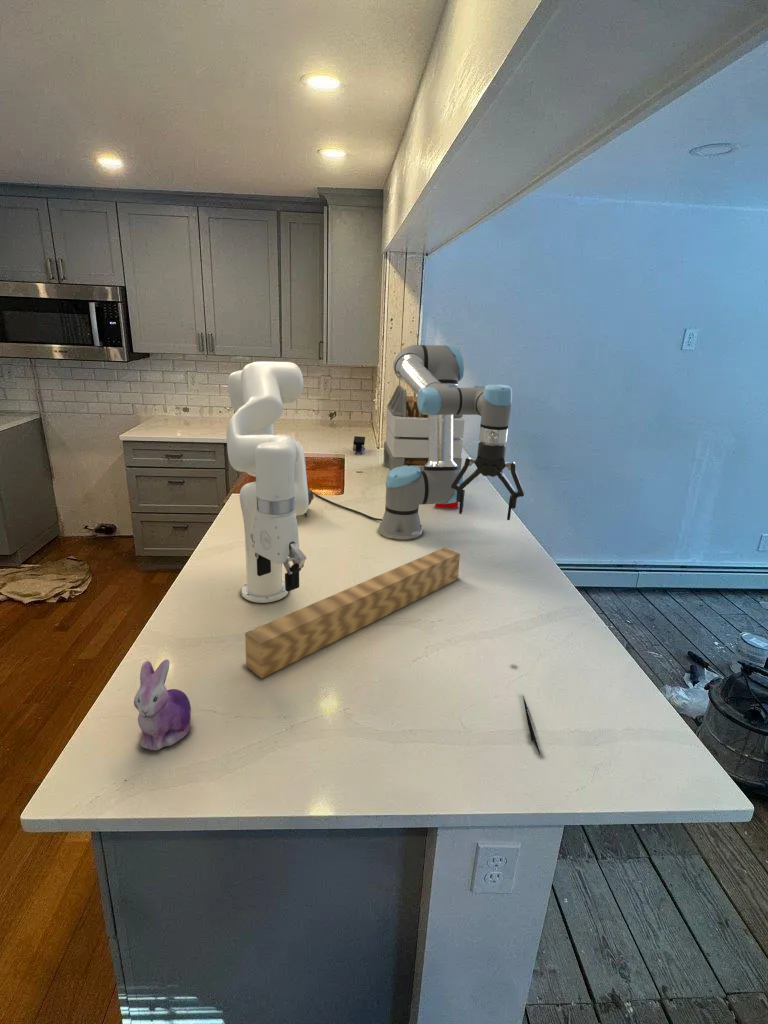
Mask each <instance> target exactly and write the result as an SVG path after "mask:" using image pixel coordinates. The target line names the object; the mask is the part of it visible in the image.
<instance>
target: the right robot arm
mask: <svg viewBox="0 0 768 1024" xmlns="http://www.w3.org/2000/svg"><path fill="white" fill-rule="evenodd" d="M393 372H394V374H395V375H396V378H398V380H399V381H401V382H402V383H404V384H407V385H408V386H409V388H410V390H412V391H413V392H414V394H415V395H416V397H417V406H418V410H419V412H420V413H421V414H428V432H429V460H428V462H427V463H426V464H425V465H424V466H423V470H422V469H421V467H420V466H407V465H404V466H401V467H397V468H394V469H392V470H390V469H389V470H388V472H387V475H386V480H385V504H384V505H385V507H384V508H385V509H384V513H383V515H382V518H377V517H373V516H370V515H368V514H366V513H363V512H361V511H358V510H356V509H353V508H349V507H346V506H344V505H341V504H339V503H336V502H333V501H332V500H329V499H327V498H325V497H322V496H321V495H320V494H318V493H315V492H314V491H312V492H313V496H316V497H317V498H319V499H322V500H323V501H325V502H327V503H330V504H332V505H334V506H337V507H338V508H341V509H345V510H348V511H351V512H353V513H356V514H359V515H362V516H364V517H366V518H368V519H371V520H374V521H379V526H378V533H379V534H380V535H381V536H382V537H385V538H387V539H389V540H395V541H410V540H415V539H418V538H420V537H421V536H422V535H423V525H422V524H421V518H420V515H419V507H420V505H435V504H447V503H454V502H456V501H457V502H458V503H459V506H458V514H459V515H462V514H463V512H464V503H465V488H466V487H468V486H469V484H470V483H471V482H472V481H474V480H475V479H476V478H477V477H478V476H479V475H482V476H483V477H488V476H489V477H491V478H494V477H497V478H498V479H499V481H501V483H502V484H503V486H504V487H505V488H506V490H507V491H508V493H509V494H510V495H509V501H508V509H507V517H506V521H511V514H512V513H511V512H512V509H516V507H517V500H518V498H521V497H522V498H523V497H524V496H525V490H524V488H523V484H522V482H521V480H520V479H521V478H519V477H520V476H519V474H518V472H517V468H516V467H517V466H516V465H517V464H516V461H514V460H513V461H511V462H507V461H506V451H507V445H506V443H507V442H508V436H509V435H508V434H509V425H510V417H511V411H512V404H513V388H512V386H510V385H504V384H497V383H494V384H493V383H492V384H486V385H485V386H482V385H480V386H479V385H474V386H470V387H458V386H459V384H458V383H459V382H460V381H462V379H463V377H464V375H465V374H464V373H465V360H464V356H463V354H462V352H461V350H460V349H459V348H458V347H457V346H454V345H447V344H445V345H444V344H443V345H441V344H412V345H408V346H406V347H404V348H403V349H401V350H400V351H399V352H398V353H397V355H396V356H395V358H394V360H393ZM453 415H462V416H463V415H465V416H468V415H469V416H470V415H471V416H472V415H473V416H474V415H475V416H480V424H479V425H480V426H479V436H478V441H479V442H478V446H477V452H476V453H477V454H476V458H473V457H471V456H466V458H465V460H464V464H463V466H462V467H461V471H460V470H457V464H456V463H455V462H454V461H453ZM473 464H474V466H475V467H476V469H475V470H474V471H473V472H472V473H470V475H469V476H467V477H466V479H464V475H465V473H466V472H467V470H468V468H469V467H471V466H473ZM505 468H507V470H508V471H510V474H511V476H512V479H513V482H514V485H515V487H516V488H514V486H513V485H512V483H511V482H510V480H509V479H508V478H507V476H506V475H505V473H504V471H503V470H504V469H505Z"/></svg>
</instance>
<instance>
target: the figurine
mask: <svg viewBox="0 0 768 1024" xmlns="http://www.w3.org/2000/svg"><path fill="white" fill-rule="evenodd" d="M170 665H171V664H170V659H168V658H166V659H164V660H162V661H161V663H159V664H158V666H157V668H156V669H154V667H153V664H152V662H151V661H150V660H146V661H144V662H143V663H142V665H141V668H140V673H139V682H140V685H139V688H138V689H137V691H136V694H135V696H134V698H133V705H134V707H135V709H136V710H137V711H138V716H137V724H138V727H139V729H140V730H141V733H142V736H141V742H140V745H141V747H142V748H143V749H147V750H150V751H159V750H160V749H163V748H164V747H165V748H166V747H170V746H173V745H174V744H177V743H178V742H179V741H181V740H182V739H183V738H184V737H185V736H186V735H188V734H189V732H190V729H191V718H192V716H191V715H192V707H191V702H190V700H189V698H188V695H187V694H186V693H185V692H184V691H182V690H180V689H176V688H171V689H167V688H166V685H165V684H166V680H167V677H168V674H169V670H170Z"/></svg>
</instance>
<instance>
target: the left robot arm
mask: <svg viewBox="0 0 768 1024" xmlns="http://www.w3.org/2000/svg"><path fill="white" fill-rule="evenodd" d="M226 384H227V392H228V393H227V394H228V397H229V402H230V404H231V407H232V410H233V412H234V414H233V415H232V416H231V418H230V419H229V422H228V424H227V426H226V427H227V428H226V448H227V449H226V450H227V457H228V463H229V465H230V466H231V468H232V469H234V470H235V471H236V472H240V473H246V474H247V475H249V476H251V477H255V480H254V481H250V482H248V483H246V484H243V486H242V487H241V488H240V490H239V504H240V509H241V513H242V519H243V529H244V530H243V531H244V545H245V548H244V549H245V568H246V569H245V570H246V583H245V584H244V585H243V586H242V587H241V589H240V591H241V596H242V598H244V599H245V600H247V601H249V602H253V603H258V604H266V603H274V602H276V601H279V600H282V599H283V598H285V597H286V596H287V595H288V593H289V592H291V591H294V590H296V589H299V588H300V572H301V571H302V569H303V568H304V567H305V563H306V560H307V557H306V555H305V554H304V552H303V551H302V550H301V549H300V539H299V529H298V528H299V527H298V522H297V521H298V520H297V517H298V516H302V515H305V514H304V513H306V514H307V511H308V510H309V505H308V504H309V498H308V488H309V487H308V476H307V464H306V457H305V451H304V448H303V445H302V444H301V443H300V442H299V441H298V440H295V439H294V437H293V436H291V435H288V434H275V430H274V424H276V422H278V421H279V420H280V419H281V417H282V415H283V412H284V404H292V403H294V402H296V401H297V400H299V398H300V397H301V395H302V394H303V391H304V376H303V373H302V371H301V368H300V367H299V365H297V364H296V363H295V362H291V361H253V362H250V363H248V364H246V365H245V366H244V367H243V368H242V369H240V370H236V371H233V372H232V373H230V374H229V376H228V378H227V383H226ZM296 516H297V517H296ZM290 562H291V563H292V565H290ZM283 566H284V569H285V571H286V573H284V580H283Z"/></svg>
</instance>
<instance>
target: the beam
mask: <svg viewBox="0 0 768 1024" xmlns="http://www.w3.org/2000/svg"><path fill="white" fill-rule="evenodd" d="M460 560H461V552H459V551H456V550H454V549H451V548H448V547H446V546H444V547H442V548H439V549H437V550H435V551H433V552H430V553H427V554H426V555H423V556H421V557H418V558H415V559H414V560H410V562H407V563H405V564H402V565H400V566H398V567H395V568H393V569H390V570H388V571H386V572H383V573H381V574H379V575H376V576H374V577H372V578H370V579H367V580H365V581H362V582H360V583H358V584H355V585H353V586H351V587H348V588H345V589H344V590H341V591H339V592H337V593H334V594H332V595H330V596H328V597H325V598H323V599H321V600H317V601H315V602H314V603H310V604H309V605H306V606H304V607H302V608H300V609H297V610H295V611H293V612H289V613H288V614H285V615H283V616H281V617H279V618H276V619H274V620H272V621H269V622H267V623H265V624H261V625H259V626H257V627H254V628H253V629H250V630H248V631H246V632H244V643H245V644H244V645H245V665H246V666H245V667H246V668H247V669H249V670H250V671H252V672H253V673H254V674H255V675H256V676H258V677H260V679H264V678H266V677H268V676H270V675H271V674H273V673H275V672H278V671H279V670H281V669H283V668H285V667H287V666H290V665H291V664H293V663H295V662H297V661H299V660H301V659H303V658H305V657H307V656H309V655H311V654H313V653H315V652H317V651H319V650H321V649H323V648H325V647H326V646H329V645H331V644H333V643H335V642H337V641H339V640H341V639H343V638H344V637H347V636H349V635H350V634H352V633H354V632H356V631H358V630H360V629H363V628H364V627H366V626H368V625H370V624H372V623H374V622H377V621H379V620H380V619H382V618H385V617H386V616H388V615H390V614H392V613H395V612H396V611H399V610H400V609H402V608H404V607H406V606H408V605H410V604H412V603H414V602H416V601H418V600H420V599H423V598H424V597H426V596H427V595H430V594H432V593H434V592H436V591H438V590H439V589H442V588H444V587H445V586H447V585H449V584H451V583H453V582H455V581H458V580H459V572H460V571H459V570H460Z"/></svg>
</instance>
